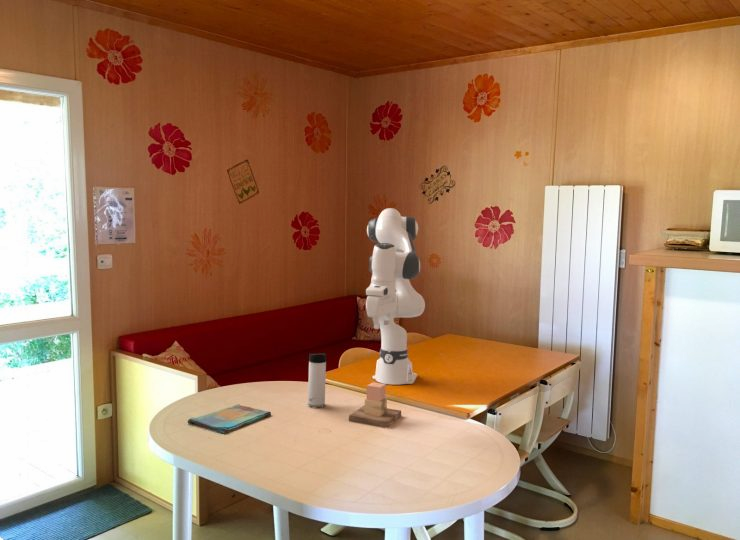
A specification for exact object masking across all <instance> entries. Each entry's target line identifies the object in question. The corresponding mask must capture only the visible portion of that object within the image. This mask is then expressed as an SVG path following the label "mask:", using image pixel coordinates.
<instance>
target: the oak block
mask: <svg viewBox="0 0 740 540" xmlns="http://www.w3.org/2000/svg"><path fill="white" fill-rule="evenodd" d="M364 405H365V408H364V414H368V415H374V416H382V415H383V414H384V413H386V412H387V408H388V406H387V405H388V397H385V399H383V400H382V401H380V402H378V401H372V400H367V398H364Z"/></svg>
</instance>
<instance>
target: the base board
mask: <svg viewBox="0 0 740 540" xmlns="http://www.w3.org/2000/svg"><path fill="white" fill-rule="evenodd" d="M364 408H365V404H364V405H362V406H361V407H360V408H358V409H356V410H355V411H354V412H352V413H350V414H349V415H348V422H350V423H351V422H353V423H356V424H357V423H358V424H364V425H369V426H374V425H375V427H380V426H381V427H382V428H385V427H387V428H388V427H390V426H391V425H392V424H393V423H394V422H395V420H396V419H397V418H398V417H399V416H401V417H402V410H401V409H394V408H388V407H387V412H386V413H384V414H383V415H382V416H374V415H368V414H364ZM399 418H400V417H399ZM399 418H398V419H399ZM398 419H397V420H398ZM397 420H396V421H397ZM393 421H394V422H393ZM392 422H393V423H392ZM391 423H392V424H391ZM390 424H391V425H390ZM381 427H380V428H381Z"/></svg>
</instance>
